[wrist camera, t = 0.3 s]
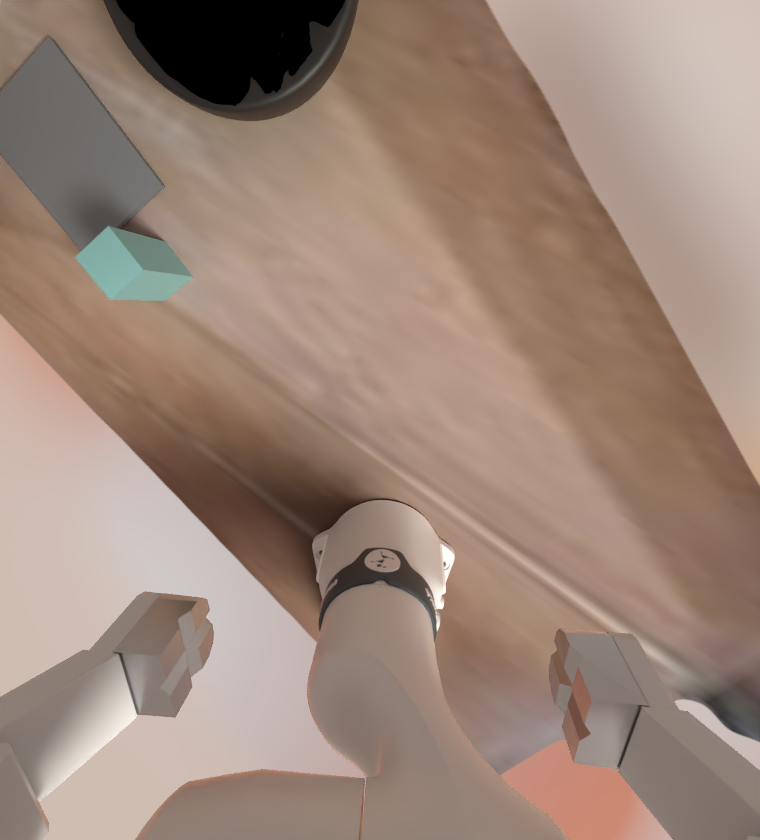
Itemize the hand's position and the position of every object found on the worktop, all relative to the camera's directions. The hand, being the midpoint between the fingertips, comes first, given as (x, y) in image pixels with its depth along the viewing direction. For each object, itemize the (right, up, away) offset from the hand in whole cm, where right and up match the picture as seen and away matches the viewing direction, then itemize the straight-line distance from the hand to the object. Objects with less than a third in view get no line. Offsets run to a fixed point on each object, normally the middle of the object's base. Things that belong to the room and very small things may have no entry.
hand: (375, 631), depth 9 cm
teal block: (-24, +22, +36) cm, 48 cm away
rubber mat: (-32, +33, +33) cm, 57 cm away
